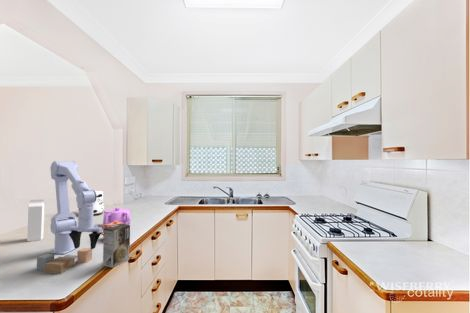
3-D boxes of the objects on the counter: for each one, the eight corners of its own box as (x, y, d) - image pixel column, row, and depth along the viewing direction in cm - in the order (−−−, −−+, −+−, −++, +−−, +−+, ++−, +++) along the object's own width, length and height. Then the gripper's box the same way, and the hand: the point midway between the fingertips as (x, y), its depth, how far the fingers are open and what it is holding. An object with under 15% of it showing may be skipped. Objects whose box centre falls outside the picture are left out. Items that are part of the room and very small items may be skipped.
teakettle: (102, 230, 154) (103, 211, 154) (103, 223, 169) (103, 206, 170) (131, 227, 162) (132, 209, 162) (129, 221, 177) (130, 204, 177)
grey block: (45, 265, 103) (45, 253, 103) (53, 266, 103) (54, 254, 103) (36, 269, 99) (37, 257, 99) (45, 270, 99) (46, 258, 99)
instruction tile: (66, 255, 114) (66, 254, 114) (78, 256, 113) (78, 255, 113) (52, 262, 106) (52, 261, 106) (65, 263, 105) (65, 262, 105)
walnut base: (59, 264, 104) (59, 256, 104) (74, 265, 103) (74, 257, 103) (44, 272, 97) (45, 263, 97) (60, 273, 96) (61, 264, 96)
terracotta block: (83, 258, 111) (84, 247, 111) (91, 259, 110) (92, 248, 111) (77, 262, 107) (77, 251, 107) (85, 262, 106) (85, 251, 107)
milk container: (108, 213, 200) (108, 191, 200) (86, 217, 185) (86, 194, 185) (96, 211, 209) (97, 190, 209) (75, 214, 194) (75, 192, 194)
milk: (30, 238, 136) (31, 199, 137) (43, 237, 139) (44, 198, 139) (27, 241, 131) (28, 200, 131) (41, 240, 134) (42, 200, 134)
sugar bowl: (122, 242, 133) (122, 223, 134) (95, 242, 132) (96, 223, 133) (130, 235, 146) (130, 218, 146) (106, 235, 145) (106, 218, 145)
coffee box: (119, 257, 113) (120, 222, 113) (129, 260, 110) (130, 224, 110) (101, 265, 104) (103, 227, 104) (112, 268, 102) (114, 229, 102)
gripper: (63, 219, 106) (62, 250, 105) (95, 220, 104) (94, 252, 104) (75, 215, 113) (75, 244, 112) (105, 216, 111) (104, 246, 111)
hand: (85, 248), depth 109 cm, fingers open, 7 cm apart
